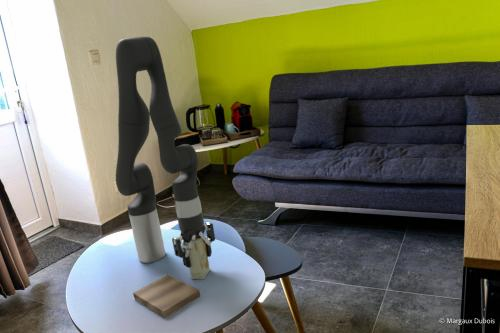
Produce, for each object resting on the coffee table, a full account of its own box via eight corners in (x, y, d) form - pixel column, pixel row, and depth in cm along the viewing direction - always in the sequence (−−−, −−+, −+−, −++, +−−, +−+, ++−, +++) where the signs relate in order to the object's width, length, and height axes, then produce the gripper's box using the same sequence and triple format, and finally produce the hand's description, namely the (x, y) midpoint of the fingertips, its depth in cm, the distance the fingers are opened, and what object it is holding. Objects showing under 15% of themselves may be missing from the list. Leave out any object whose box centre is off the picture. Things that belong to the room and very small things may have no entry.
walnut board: (134, 298, 125) (132, 292, 124) (168, 280, 133) (167, 274, 132) (164, 318, 114) (163, 311, 113) (200, 296, 121) (199, 290, 121)
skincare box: (204, 279, 130) (197, 242, 127) (191, 279, 131) (183, 243, 128) (210, 268, 136) (204, 233, 133) (197, 268, 137) (191, 233, 134)
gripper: (200, 201, 135) (208, 249, 140) (162, 218, 126) (172, 268, 130) (215, 205, 130) (223, 254, 134) (176, 222, 121) (187, 275, 125)
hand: (198, 261), depth 132 cm, fingers closed on skincare box, 7 cm apart
